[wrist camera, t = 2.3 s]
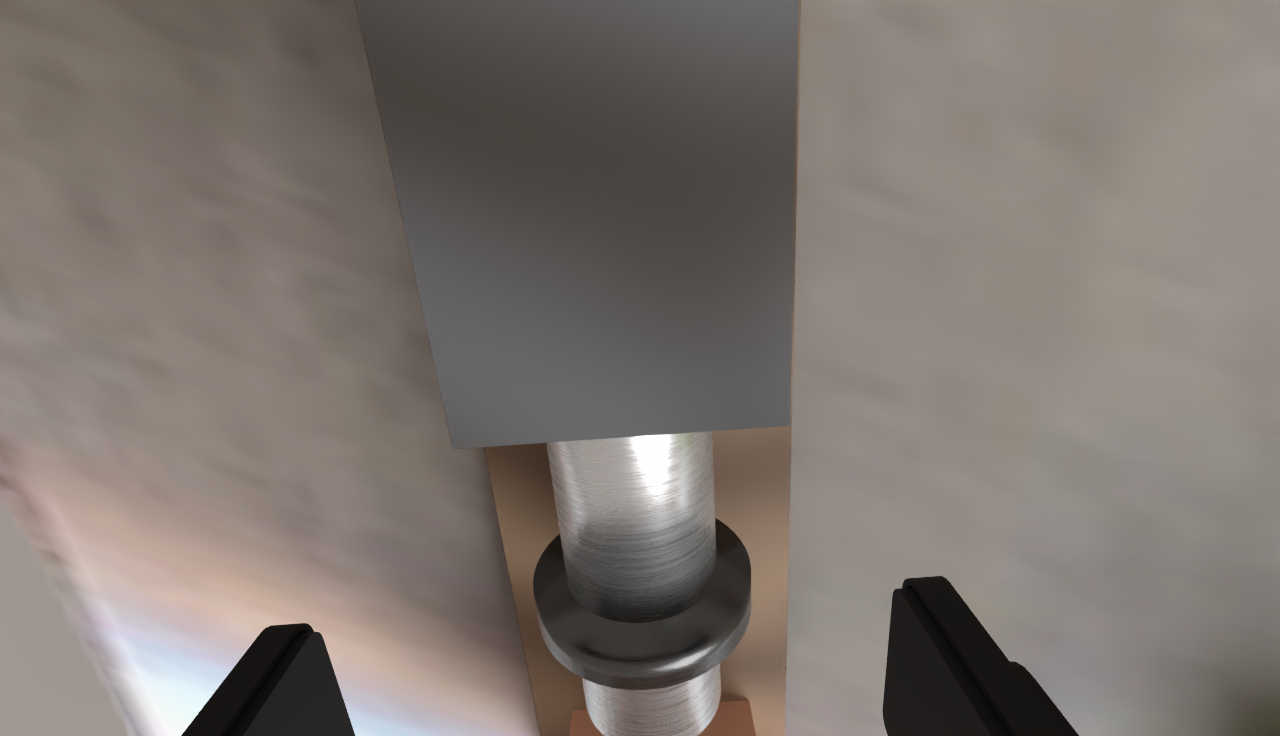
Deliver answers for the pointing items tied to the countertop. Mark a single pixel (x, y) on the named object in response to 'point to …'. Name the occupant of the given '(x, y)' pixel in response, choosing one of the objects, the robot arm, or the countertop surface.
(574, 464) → the steel tube
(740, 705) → the socket block
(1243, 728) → the countertop surface
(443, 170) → the stand
